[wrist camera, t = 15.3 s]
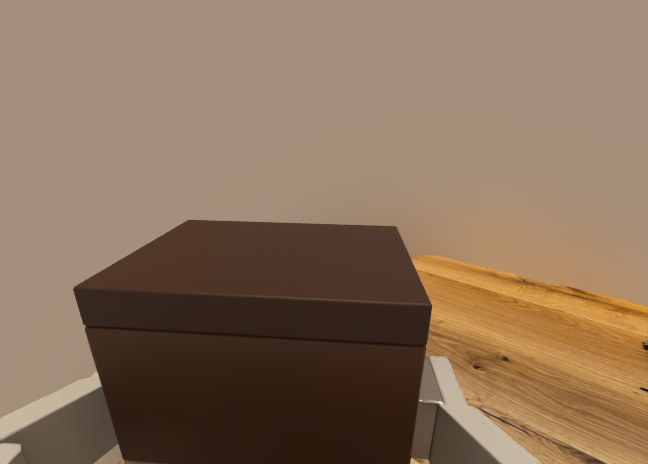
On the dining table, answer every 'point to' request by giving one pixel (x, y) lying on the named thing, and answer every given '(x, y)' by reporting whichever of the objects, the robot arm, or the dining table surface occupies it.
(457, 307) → the dining table surface
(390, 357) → the cake slice
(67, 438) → the robot arm
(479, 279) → the dining table surface
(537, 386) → the dining table surface
